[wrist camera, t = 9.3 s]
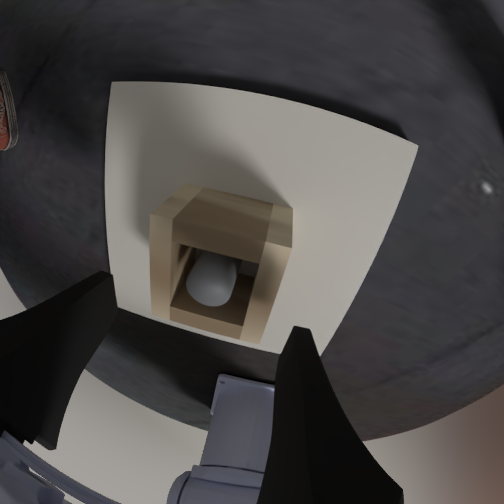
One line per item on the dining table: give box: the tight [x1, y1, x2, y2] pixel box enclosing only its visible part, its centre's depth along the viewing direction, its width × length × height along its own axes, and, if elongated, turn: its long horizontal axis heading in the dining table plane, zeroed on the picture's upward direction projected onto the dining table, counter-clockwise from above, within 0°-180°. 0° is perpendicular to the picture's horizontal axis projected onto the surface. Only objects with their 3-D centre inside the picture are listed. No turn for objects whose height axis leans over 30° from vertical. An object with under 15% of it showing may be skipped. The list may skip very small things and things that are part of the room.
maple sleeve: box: [149, 184, 293, 344], centre depth 13 cm, size 6×6×4 cm
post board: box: [105, 82, 418, 356], centre depth 14 cm, size 16×16×5 cm
